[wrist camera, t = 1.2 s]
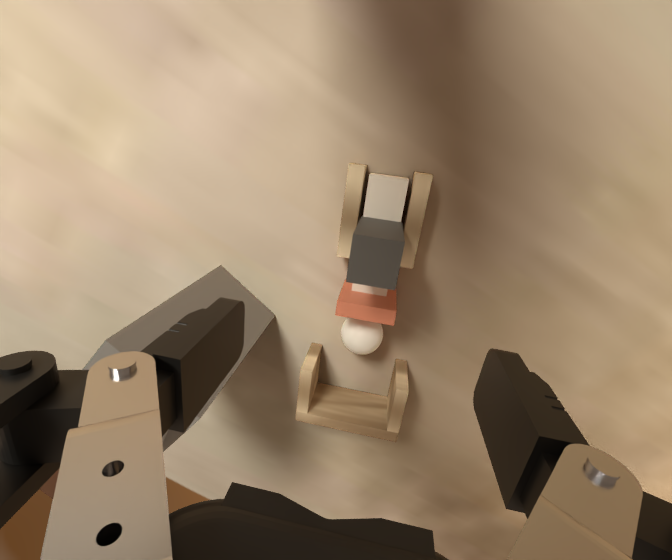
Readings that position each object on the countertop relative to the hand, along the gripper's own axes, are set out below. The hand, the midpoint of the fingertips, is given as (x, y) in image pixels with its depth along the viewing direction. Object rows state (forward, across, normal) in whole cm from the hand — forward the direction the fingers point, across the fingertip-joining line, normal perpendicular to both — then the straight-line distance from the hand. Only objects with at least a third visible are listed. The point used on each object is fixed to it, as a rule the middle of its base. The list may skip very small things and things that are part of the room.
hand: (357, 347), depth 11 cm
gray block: (+18, 0, 0) cm, 18 cm away
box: (+18, 0, +14) cm, 23 cm away
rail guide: (+18, 0, -1) cm, 18 cm away
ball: (+16, 0, +9) cm, 18 cm away
